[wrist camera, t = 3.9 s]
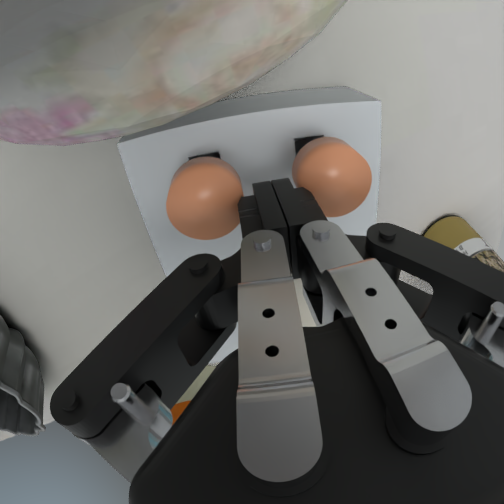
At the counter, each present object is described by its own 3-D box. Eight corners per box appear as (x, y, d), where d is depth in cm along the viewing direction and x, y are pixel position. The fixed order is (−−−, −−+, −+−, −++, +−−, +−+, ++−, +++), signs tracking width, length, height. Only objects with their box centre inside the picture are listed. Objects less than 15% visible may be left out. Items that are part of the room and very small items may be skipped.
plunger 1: (168, 147, 15) (156, 181, 11) (231, 134, 15) (238, 163, 11) (183, 202, 17) (178, 246, 13) (242, 190, 17) (250, 232, 13)
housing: (137, 120, 18) (116, 144, 14) (346, 86, 18) (381, 101, 14) (205, 321, 31) (206, 363, 27) (343, 295, 31) (359, 333, 27)
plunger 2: (277, 127, 15) (297, 153, 11) (338, 120, 15) (372, 145, 12) (284, 183, 17) (302, 222, 13) (340, 174, 17) (369, 211, 13)
